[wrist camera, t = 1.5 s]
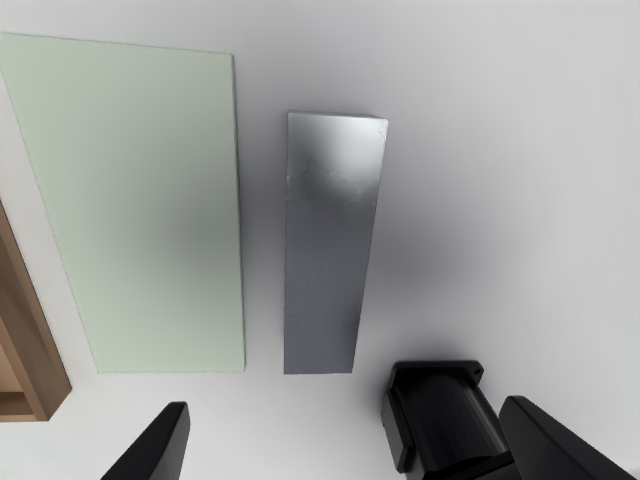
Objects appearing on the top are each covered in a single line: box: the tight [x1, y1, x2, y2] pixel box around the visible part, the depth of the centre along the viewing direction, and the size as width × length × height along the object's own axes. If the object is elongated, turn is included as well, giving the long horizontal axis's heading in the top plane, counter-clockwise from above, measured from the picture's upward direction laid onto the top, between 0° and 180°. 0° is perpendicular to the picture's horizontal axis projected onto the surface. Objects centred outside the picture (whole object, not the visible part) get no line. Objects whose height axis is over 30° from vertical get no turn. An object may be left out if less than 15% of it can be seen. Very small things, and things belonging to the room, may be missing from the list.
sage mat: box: [0, 33, 246, 374], centre depth 16 cm, size 9×18×1 cm, turn 176°
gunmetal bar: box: [284, 110, 389, 374], centre depth 16 cm, size 4×14×3 cm, turn 176°
